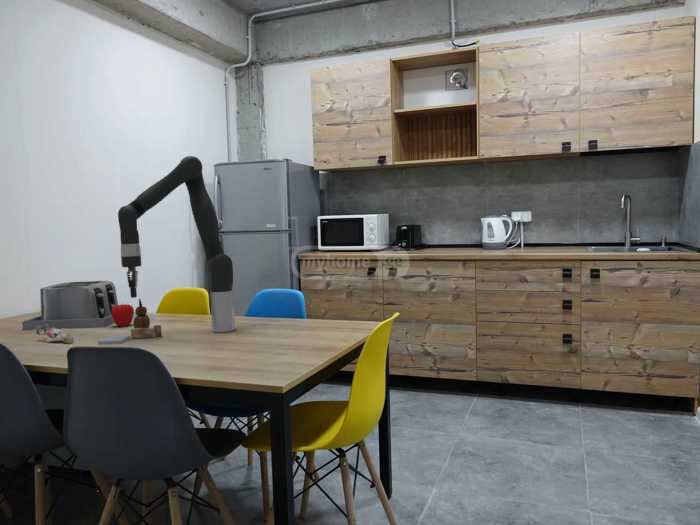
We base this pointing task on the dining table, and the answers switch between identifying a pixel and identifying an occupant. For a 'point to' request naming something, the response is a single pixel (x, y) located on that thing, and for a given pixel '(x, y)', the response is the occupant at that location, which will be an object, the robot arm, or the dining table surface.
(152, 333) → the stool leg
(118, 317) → the apple
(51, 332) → the figurine
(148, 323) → the wooden figurine
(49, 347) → the dining table surface
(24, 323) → the toaster tray
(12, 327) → the dining table surface
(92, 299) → the toaster
